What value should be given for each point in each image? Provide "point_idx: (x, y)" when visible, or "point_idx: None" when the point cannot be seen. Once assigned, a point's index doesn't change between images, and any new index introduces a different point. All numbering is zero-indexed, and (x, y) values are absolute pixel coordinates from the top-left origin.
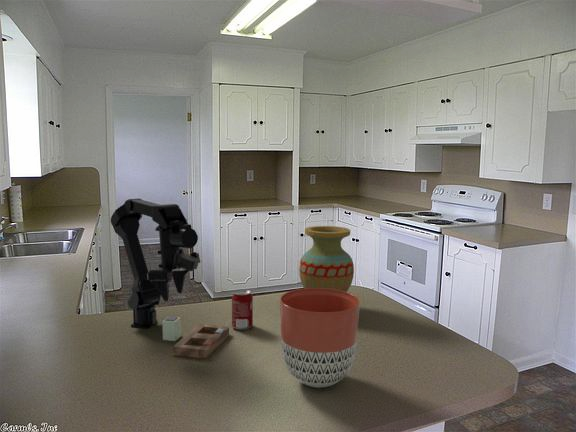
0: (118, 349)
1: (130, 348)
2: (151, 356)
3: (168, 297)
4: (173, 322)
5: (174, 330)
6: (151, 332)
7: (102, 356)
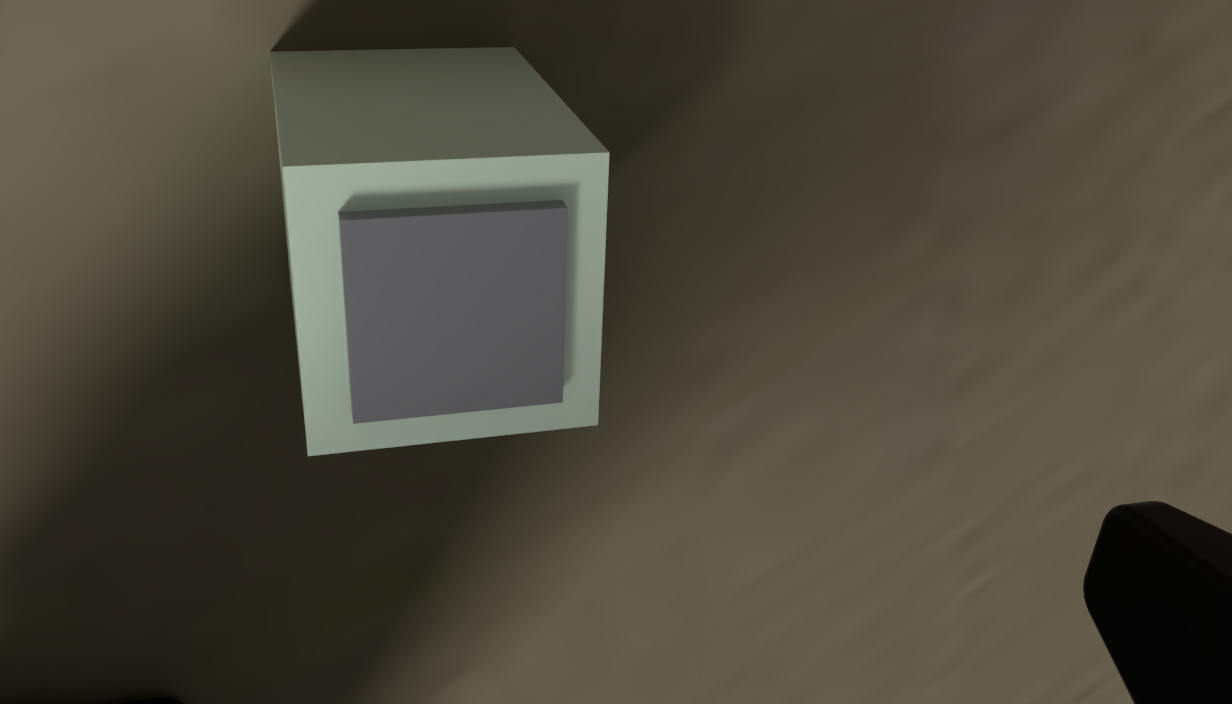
0: (903, 579)
1: (864, 484)
2: (1070, 107)
3: (1206, 558)
4: (602, 177)
5: (562, 103)
6: (298, 569)
7: (1074, 601)
